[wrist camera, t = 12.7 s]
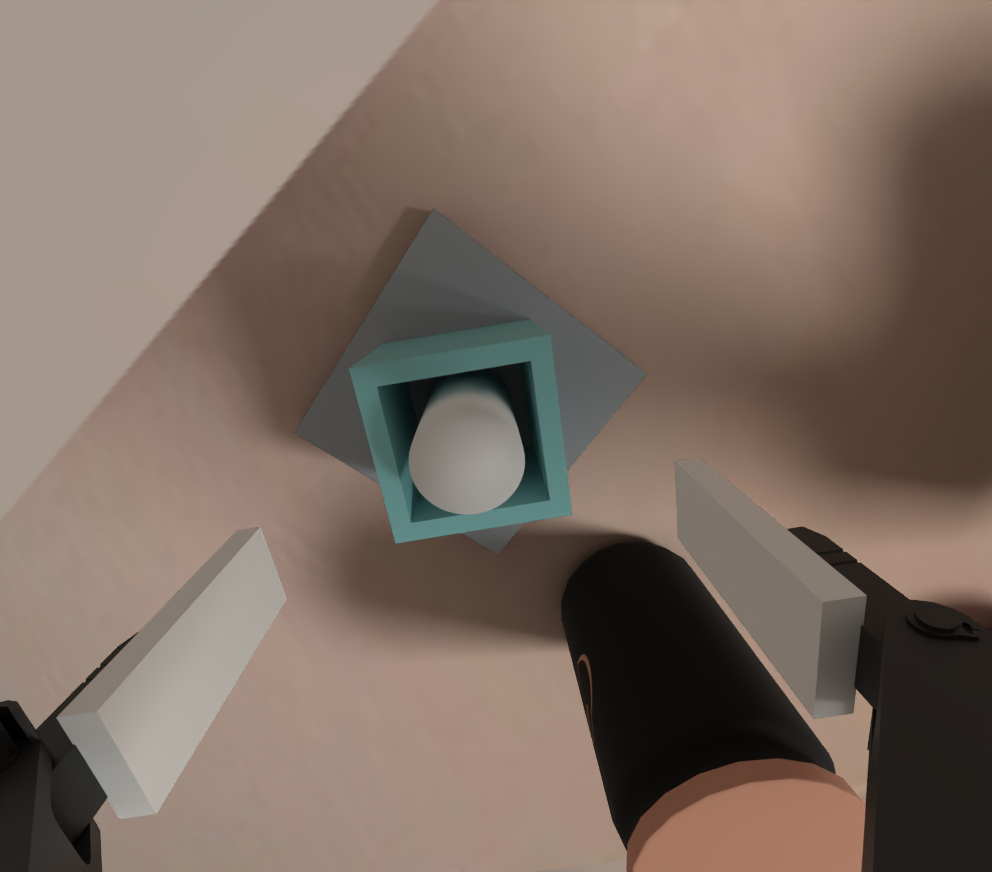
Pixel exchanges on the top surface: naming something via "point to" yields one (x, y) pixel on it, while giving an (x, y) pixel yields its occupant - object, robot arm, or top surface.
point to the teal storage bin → (396, 424)
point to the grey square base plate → (469, 378)
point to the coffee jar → (697, 729)
